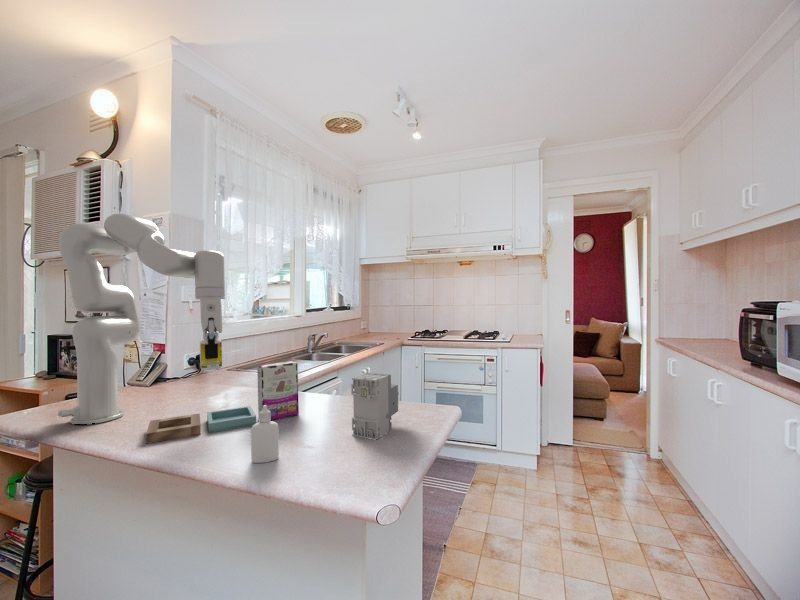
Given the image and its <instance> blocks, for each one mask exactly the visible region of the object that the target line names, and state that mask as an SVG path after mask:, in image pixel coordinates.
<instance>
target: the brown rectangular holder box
mask: <svg viewBox="0 0 800 600" xmlns="http://www.w3.org/2000/svg"><path fill="white" fill-rule="evenodd" d="M147 426H148V427H147V430H146V432H145V444H146V445H148V444H152V443H153V444H155V443H157V442H164V441H170V440H176V438H177V439H181V437H182V438H188V437H193V436H199V435H201V429H202V428H201V414H200V413H194V414H188V415H180V416H172V417H167V418H166V417H165V418H161V419H153V420H150V421H149V424H148V425H147ZM187 436H188V437H187Z"/></svg>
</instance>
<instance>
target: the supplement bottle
mask: <svg viewBox="0 0 800 600" xmlns="http://www.w3.org/2000/svg"><path fill="white" fill-rule="evenodd" d="M205 334H206V333H205ZM205 334H204V333H203V334H202V340H200V341H199V362H200V363H199V368H200V370H201V371H212V370H213V371H214V370H219V369H221V368H222V367H223V347H222V346H223V345H222V343H223V342H222V339H219V335H220V334H219V332H217V344H218V358H214V359H205V345H206V335H205Z"/></svg>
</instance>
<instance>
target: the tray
mask: <svg viewBox="0 0 800 600" xmlns="http://www.w3.org/2000/svg"><path fill="white" fill-rule="evenodd" d="M206 416H207V417H206V421H207V429H208V433H209V434H210V433H216V432H223V431H229V430H233V429H240V428H246V427H250V426H251V427H252V426H253V425H254V424H256V423H257V415H256V413H255V412H254V410H253V409H252V406H251V405H248V406H247V405H246V406H242V407H234V408H229V409H222V410H215V411H209V412H207V413H206Z"/></svg>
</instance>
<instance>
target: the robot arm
mask: <svg viewBox="0 0 800 600" xmlns="http://www.w3.org/2000/svg"><path fill="white" fill-rule="evenodd" d="M159 230H160V229H159V228H158V226H157V225H156V224H155V222H153V221H151V220H149V219H147V218H146V219H145V218H142V217H138V216H134V215H131V214H126V213H113V214H110V215H109V216H107V217H106V218H105V220H104V221H103V226H99V225H95V224H88V223H72V224H69V225H67V226H66V227H64V228H63V229H62V231H61V233H60V236H59V239H58V250H59V253H60V255H61V258H62V260H63V263H64V264H65V268H66V270H67V275H68V282H69V286H70V291H71V296H72V301H73V305H74V307H75V308H76V310H78V311H79V312H80V313H87V314H98V313H99V314H103V313H106V314H107V313H109V315H101V316H100V315H98V316H97V315H95V316H90V317H89V316H88V317H85V318H81V319H80V320H78V321H77V322H75V323H74V325H73V327H72V331H71V333H72V338H73V339H72V340H73V344H74V347H75V352H76V354H75V355H76V374H77V375H76V376H77V377H76V378H77V379H76V380H77V381H76V387H77V388H76V389H77V392H76V393H77V394H76V395H77V396H76V398H77V399H76V400H77V403H76V404H77V405H76V406H74V407H73V408H68V409H67V408H66V409H59V410H58V414H57V415H58V417H59V418H60V417H61V418H65V417H71V418H70V424H71V423H73V424H72V425H74V424H87V425H93V424H92V423H95V424H101V423H105V422H110V421H113V420H116V419H119V418H121V417H123V416H124V414H125V411H124V410H123V409H119V406H118V403H119V402H118V395H119V394H118V358H117V356H116V354H115V352H114V350H112V348H111V346H120V345H126V344H132V343H133V342H135V341H136V340H138V337H139V336H140V332H141V325H140V320H139V316H138V315H139V314H138V309H137V304H136V300H135V295H134V294H133V292H132V291H131V289H130V288H129V287H127V286H126V285H123V284H119V283H108V282H107V280H106V276H105V270H104V268H103V266H102V264H101V263H100V262H99V260H97V258H95V256H94V255H93V253H95V254H100V255H108V256H119V257H120V256H121V257H122V256H127V255H130V254H133V253H137V257H138V259H139V261H140V262H141V263H142V264H143V265H144V266H146V267H148V268H149V269H152V270H153V271H154V272H155V273H156V272H157V273H158V274H160V275H163V276H167V277H178V278H185V279H186V278H187V279H194V292H195V293H194V295H195V296H194V298H195V300H199V303H200V305H199V307H200V308H199V309H200V324H201V330H202V333H203V334H205V333H206V334H205V335H206V345H205V359H214V358H218V344H217V333H218V334H222V333H223V316H222V315H223V310H222V300H225V297H226V295H225V294H226V293H225V292H226V290H225V289H226V288H225V287H226V286H225V284H226V283H225V280H226V279H225V256H224V254H223V253H222V252H220V251H218V250H217V251H216V250H199V251H196V253H195V252H191V251H184V250H180V249H179V250H178V249H173V248H170V247H168V246H165V236H164V235H163V234H162V233H161V232H160V231H159Z"/></svg>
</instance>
